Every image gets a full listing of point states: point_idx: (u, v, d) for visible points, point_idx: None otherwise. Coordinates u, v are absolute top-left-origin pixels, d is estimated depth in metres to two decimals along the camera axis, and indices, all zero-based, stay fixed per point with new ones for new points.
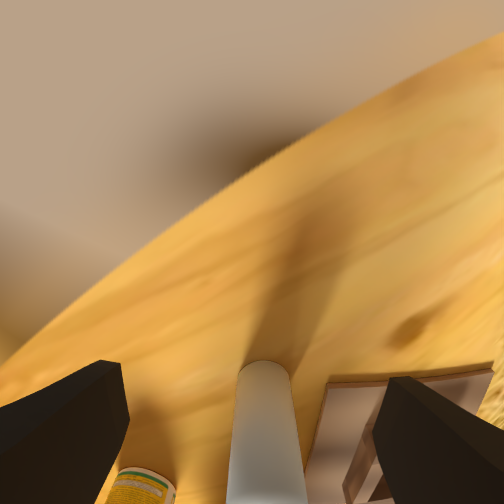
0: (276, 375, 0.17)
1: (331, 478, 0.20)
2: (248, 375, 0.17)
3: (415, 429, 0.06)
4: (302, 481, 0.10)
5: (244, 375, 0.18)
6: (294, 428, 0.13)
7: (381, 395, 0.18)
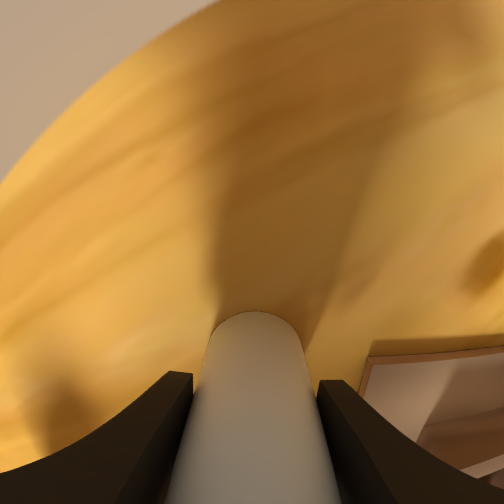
0: (278, 335, 0.09)
1: None
2: (223, 336, 0.09)
3: (335, 438, 0.06)
4: None
5: (217, 337, 0.09)
6: (324, 447, 0.05)
7: (453, 375, 0.10)
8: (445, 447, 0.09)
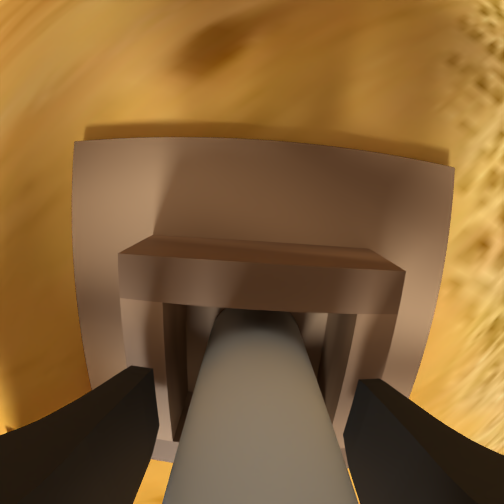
0: (275, 316, 0.10)
1: None
2: (225, 319, 0.10)
3: (380, 434, 0.06)
4: None
5: (219, 322, 0.10)
6: (322, 405, 0.06)
7: (169, 160, 0.10)
8: (148, 243, 0.09)
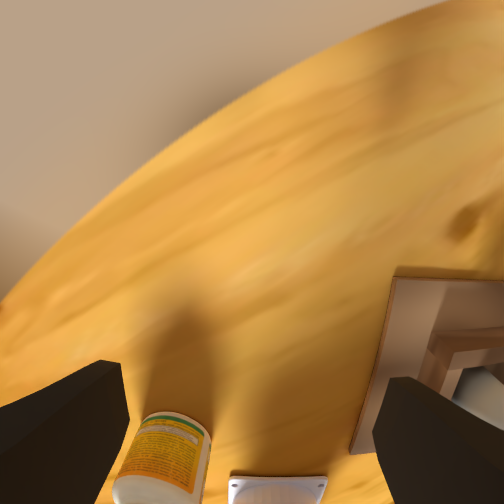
0: None
1: None
2: None
3: (416, 429, 0.06)
4: None
5: None
6: None
7: (446, 293, 0.17)
8: (447, 341, 0.16)
